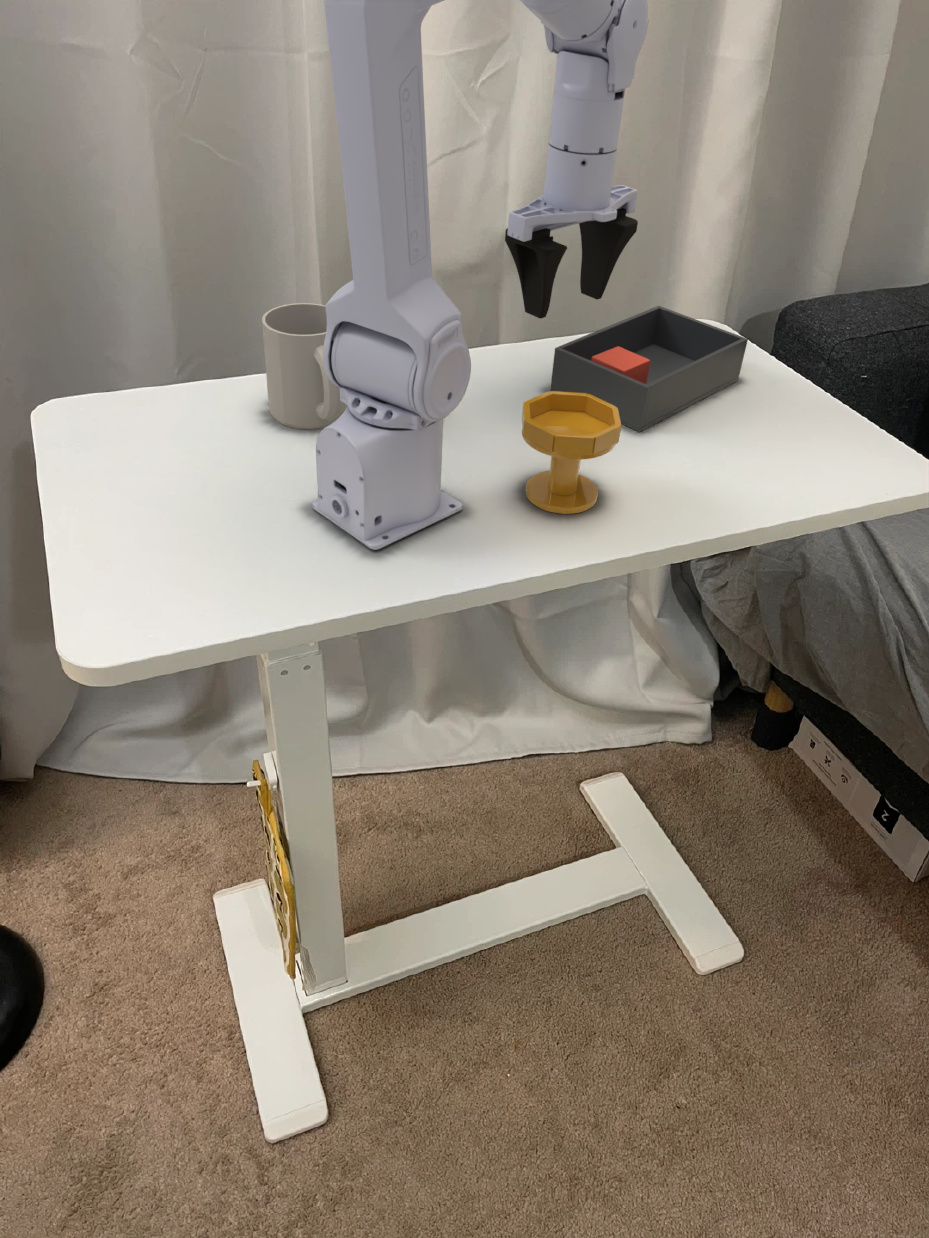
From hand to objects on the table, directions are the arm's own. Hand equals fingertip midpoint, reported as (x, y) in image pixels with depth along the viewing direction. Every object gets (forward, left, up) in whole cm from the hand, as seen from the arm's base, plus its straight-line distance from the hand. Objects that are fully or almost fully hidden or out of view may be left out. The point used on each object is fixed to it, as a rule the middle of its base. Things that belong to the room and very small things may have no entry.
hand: (563, 305), depth 92 cm
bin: (+10, -4, -9) cm, 14 cm away
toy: (+4, -4, -9) cm, 11 cm away
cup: (-21, +11, -10) cm, 25 cm away
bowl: (-13, -12, -9) cm, 20 cm away
